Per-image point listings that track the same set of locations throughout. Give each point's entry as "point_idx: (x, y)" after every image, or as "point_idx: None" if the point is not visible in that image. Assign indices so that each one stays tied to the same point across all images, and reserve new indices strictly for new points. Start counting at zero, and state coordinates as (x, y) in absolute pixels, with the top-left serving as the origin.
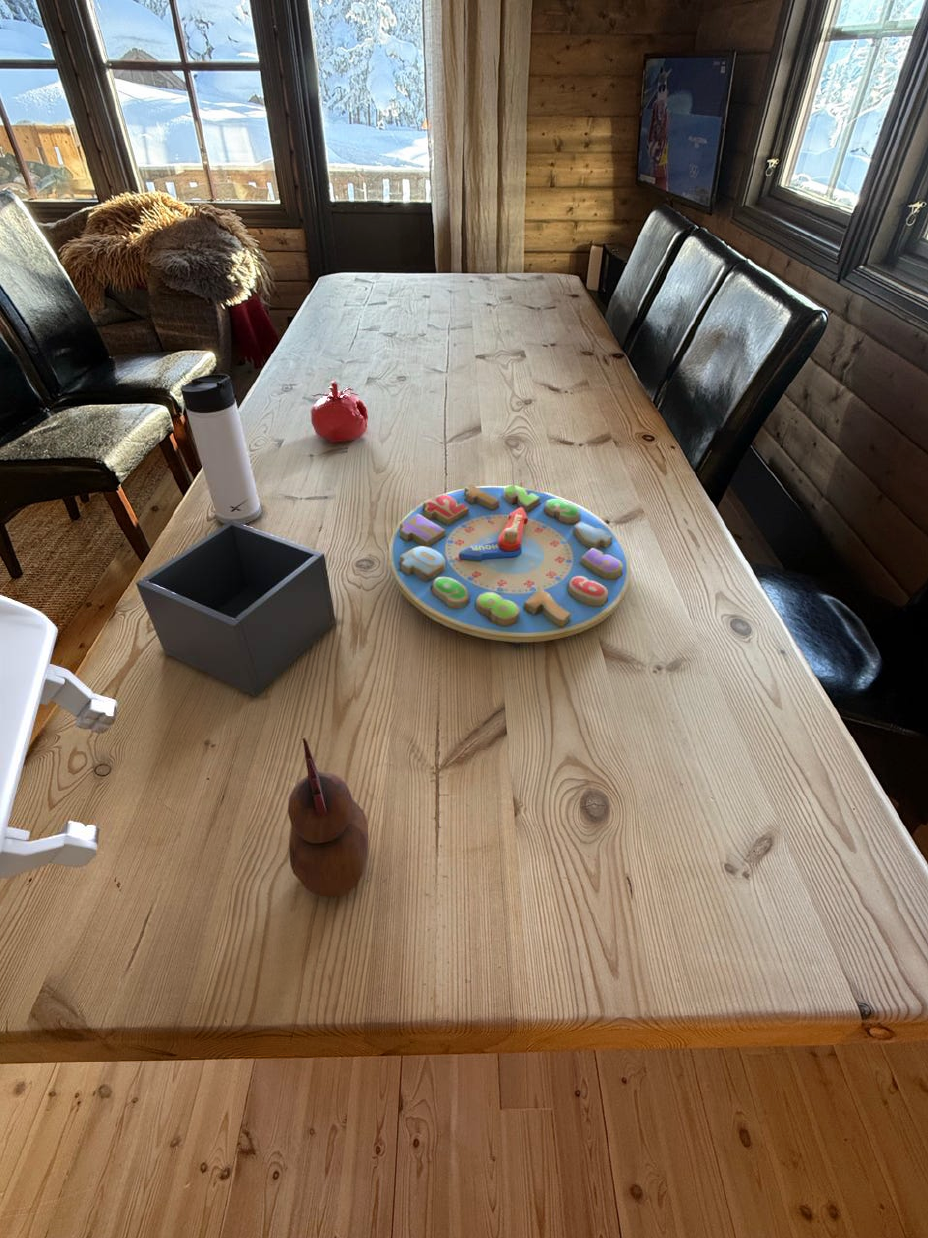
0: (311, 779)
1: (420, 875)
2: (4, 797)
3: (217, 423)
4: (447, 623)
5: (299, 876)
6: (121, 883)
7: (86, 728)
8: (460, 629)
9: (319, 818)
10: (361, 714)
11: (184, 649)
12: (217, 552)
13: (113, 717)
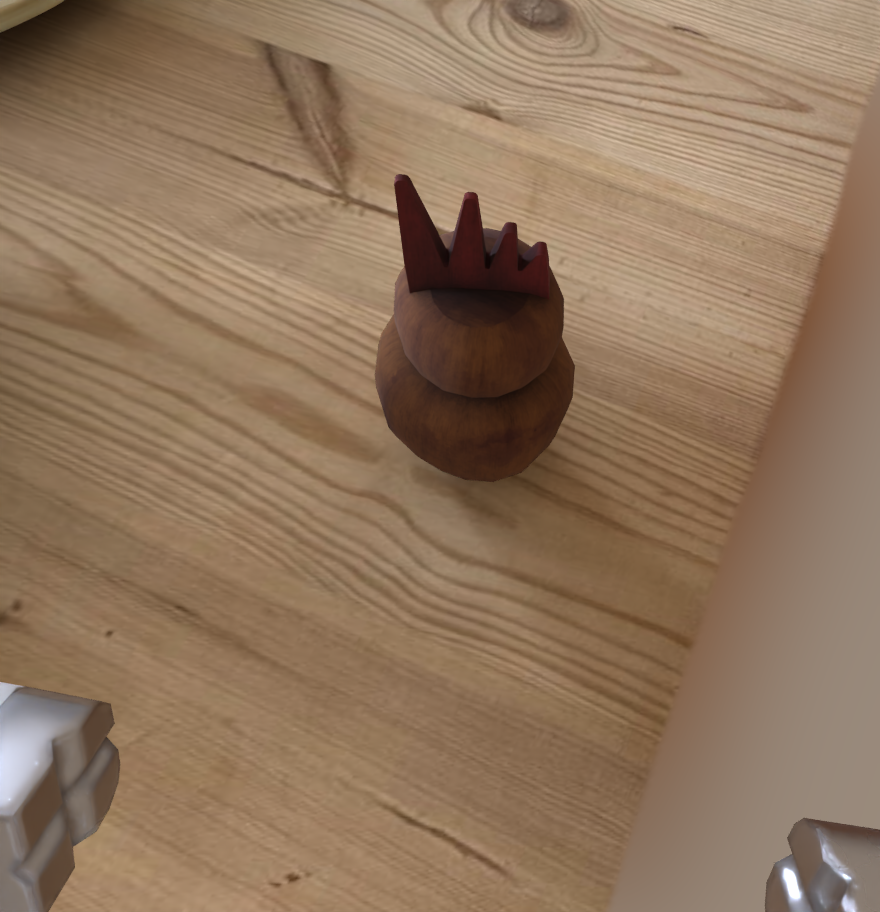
0: (483, 248)
1: None
2: None
3: None
4: (1, 20)
5: (531, 457)
6: (292, 871)
7: (73, 863)
8: (35, 8)
9: (551, 299)
10: (125, 280)
11: None
12: None
13: (96, 702)
